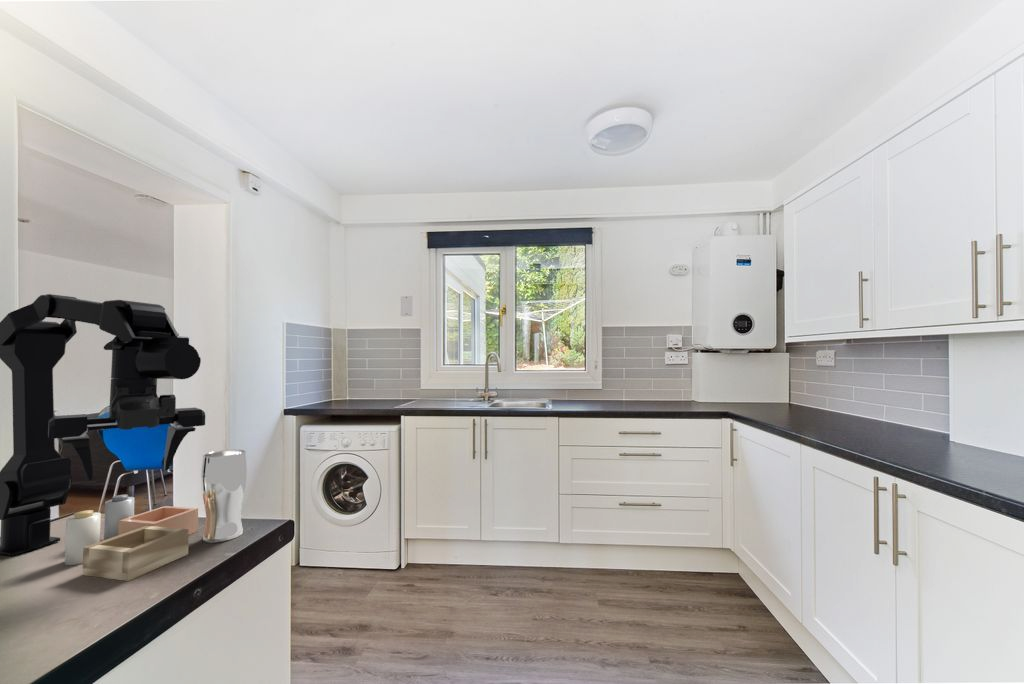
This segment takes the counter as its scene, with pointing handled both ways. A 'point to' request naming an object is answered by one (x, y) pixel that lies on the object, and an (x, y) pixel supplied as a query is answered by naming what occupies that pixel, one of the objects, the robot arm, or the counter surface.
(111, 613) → the counter surface
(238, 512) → the beer glass
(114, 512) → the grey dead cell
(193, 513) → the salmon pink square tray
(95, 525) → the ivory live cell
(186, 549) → the frame
